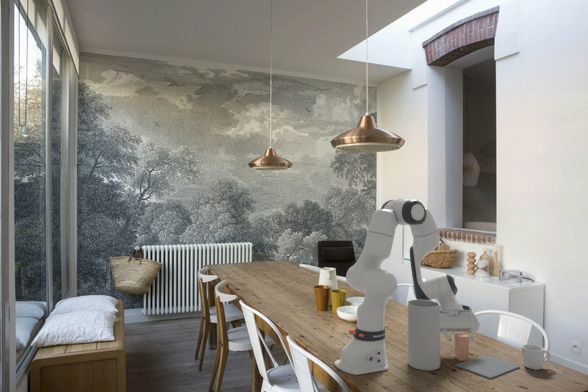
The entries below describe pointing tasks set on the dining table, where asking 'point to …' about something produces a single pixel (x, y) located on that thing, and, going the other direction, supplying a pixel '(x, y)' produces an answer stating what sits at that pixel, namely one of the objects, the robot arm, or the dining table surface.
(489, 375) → the charcoal mat
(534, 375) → the dining table surface
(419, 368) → the cylinder vase
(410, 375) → the dining table surface
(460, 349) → the terracotta block
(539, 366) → the cup
